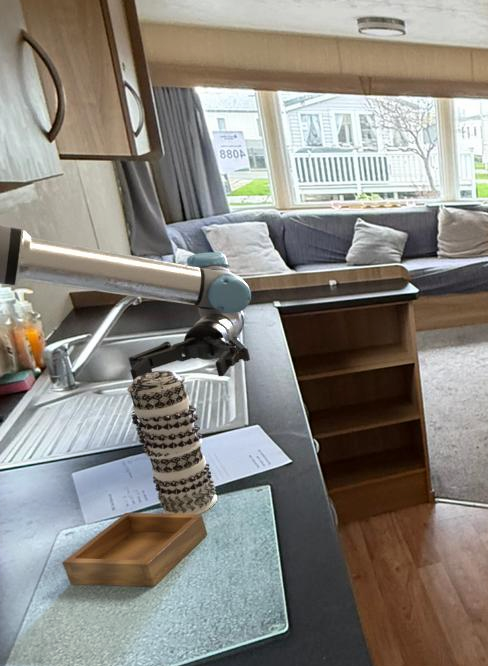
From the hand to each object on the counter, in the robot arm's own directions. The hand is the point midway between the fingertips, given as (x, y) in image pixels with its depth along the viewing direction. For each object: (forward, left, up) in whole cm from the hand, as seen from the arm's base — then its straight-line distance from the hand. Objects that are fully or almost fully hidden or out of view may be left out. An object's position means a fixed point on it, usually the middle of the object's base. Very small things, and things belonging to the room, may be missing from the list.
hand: (177, 373), depth 117 cm
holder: (+5, -24, -22) cm, 33 cm away
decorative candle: (+3, -9, -22) cm, 24 cm away
